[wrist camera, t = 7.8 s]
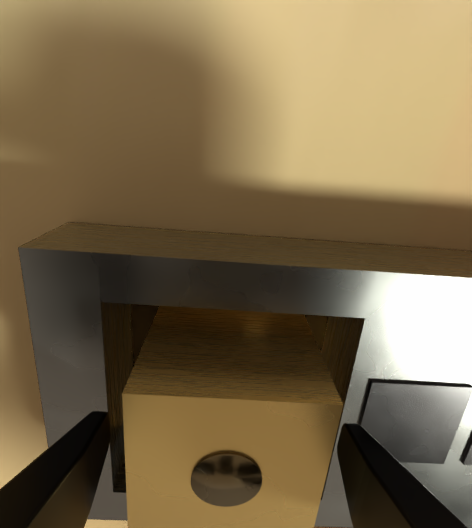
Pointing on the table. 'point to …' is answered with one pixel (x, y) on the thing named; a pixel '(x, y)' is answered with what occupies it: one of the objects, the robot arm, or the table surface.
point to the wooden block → (228, 421)
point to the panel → (276, 301)
